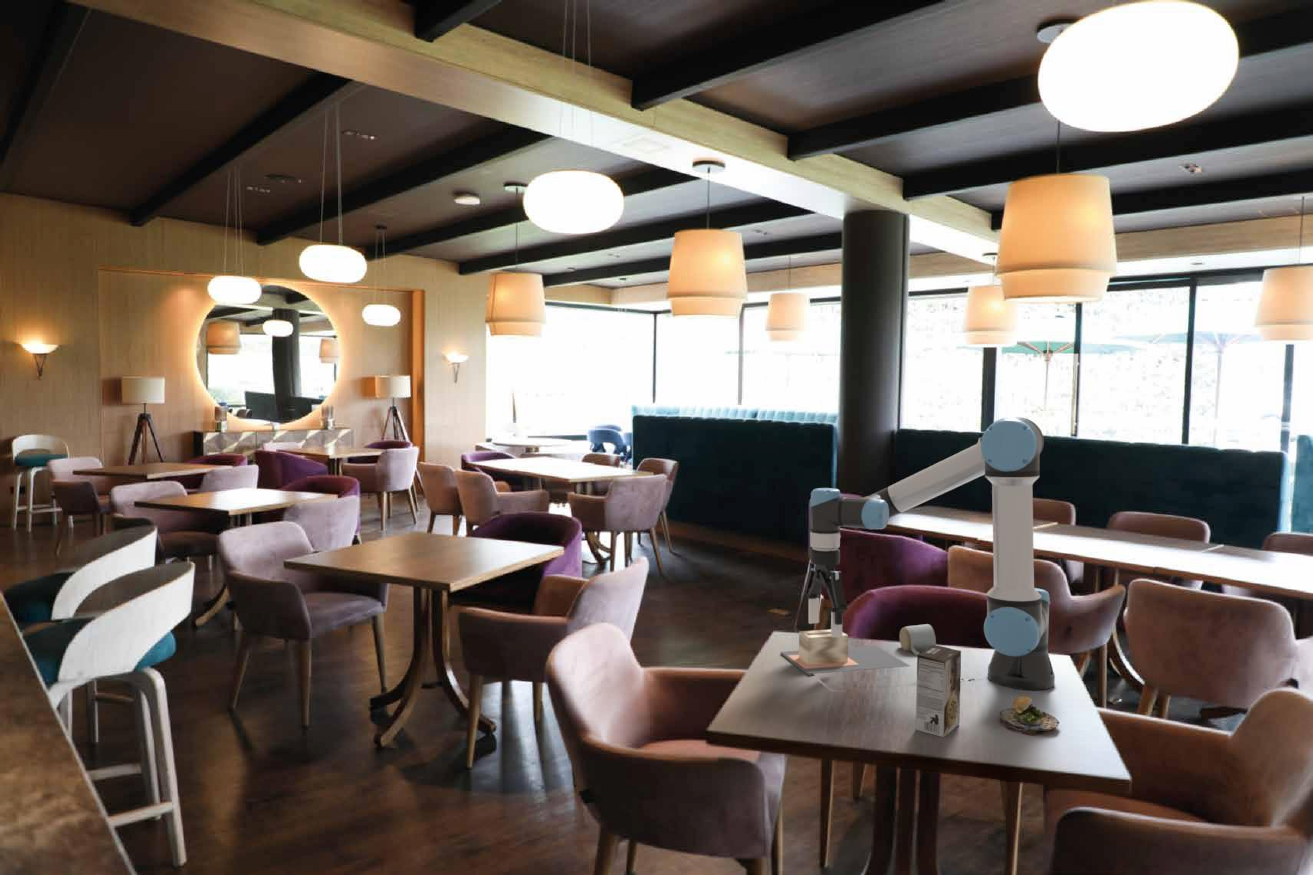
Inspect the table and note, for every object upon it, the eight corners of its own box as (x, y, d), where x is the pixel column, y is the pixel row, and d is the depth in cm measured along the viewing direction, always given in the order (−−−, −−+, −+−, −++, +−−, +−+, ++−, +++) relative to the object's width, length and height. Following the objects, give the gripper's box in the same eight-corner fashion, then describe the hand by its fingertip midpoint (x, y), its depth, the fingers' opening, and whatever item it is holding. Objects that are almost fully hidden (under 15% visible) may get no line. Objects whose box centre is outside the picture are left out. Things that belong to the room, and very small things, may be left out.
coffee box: (930, 717, 185) (932, 643, 184) (960, 724, 181) (962, 649, 180) (913, 729, 178) (915, 653, 177) (944, 737, 174) (946, 660, 173)
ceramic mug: (897, 647, 235) (898, 621, 234) (924, 647, 236) (925, 620, 235) (913, 660, 225) (914, 632, 224) (941, 659, 226) (942, 631, 225)
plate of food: (1039, 741, 173) (1040, 705, 172) (987, 723, 182) (988, 688, 182) (1070, 728, 180) (1072, 693, 179) (1019, 711, 189) (1020, 678, 189)
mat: (910, 668, 218) (910, 665, 218) (808, 675, 211) (808, 673, 211) (875, 647, 235) (875, 644, 235) (780, 654, 228) (780, 651, 228)
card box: (808, 664, 217) (808, 637, 217) (798, 657, 223) (799, 630, 223) (847, 661, 220) (848, 634, 219) (837, 654, 226) (837, 628, 225)
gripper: (861, 555, 209) (861, 641, 210) (817, 539, 233) (817, 616, 234) (833, 557, 207) (833, 643, 208) (792, 541, 231) (792, 618, 232)
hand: (824, 629), depth 221 cm, fingers open, 13 cm apart
